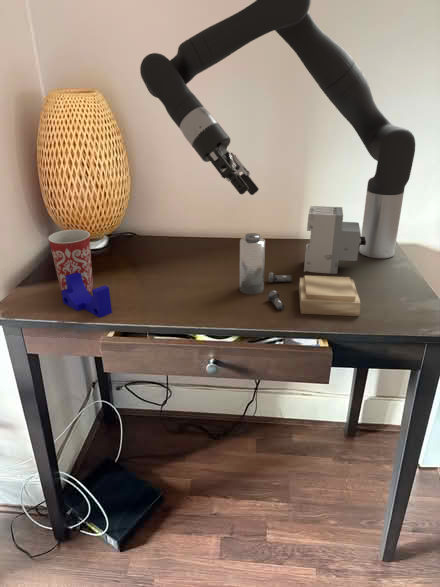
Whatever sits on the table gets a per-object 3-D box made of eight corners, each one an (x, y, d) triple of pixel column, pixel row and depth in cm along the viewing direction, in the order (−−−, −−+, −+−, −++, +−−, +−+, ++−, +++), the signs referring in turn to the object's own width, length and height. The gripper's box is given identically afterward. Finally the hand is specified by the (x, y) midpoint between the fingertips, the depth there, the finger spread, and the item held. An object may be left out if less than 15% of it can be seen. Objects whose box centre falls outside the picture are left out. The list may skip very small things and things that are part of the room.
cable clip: (63, 302, 105) (59, 278, 103) (81, 296, 108) (77, 272, 106) (93, 320, 98) (90, 294, 95) (112, 312, 101) (108, 287, 98)
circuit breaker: (362, 275, 117) (370, 216, 111) (303, 271, 120) (308, 213, 114) (360, 264, 124) (367, 208, 118) (305, 260, 127) (309, 205, 120)
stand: (298, 289, 111) (300, 273, 109) (351, 291, 109) (353, 275, 107) (300, 313, 100) (301, 296, 98) (359, 316, 98) (361, 298, 97)
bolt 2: (267, 300, 105) (267, 290, 104) (277, 299, 106) (278, 289, 105) (275, 311, 101) (275, 301, 100) (285, 309, 101) (286, 299, 100)
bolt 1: (270, 284, 113) (270, 275, 112) (268, 279, 115) (269, 270, 114) (291, 283, 114) (292, 274, 113) (289, 279, 116) (290, 270, 115)
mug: (96, 297, 108) (88, 240, 102) (55, 300, 106) (45, 243, 101) (99, 275, 119) (92, 223, 113) (61, 278, 118) (52, 225, 112)
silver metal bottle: (240, 283, 114) (241, 231, 108) (263, 284, 113) (265, 231, 107) (238, 293, 109) (239, 239, 103) (263, 294, 108) (264, 239, 102)
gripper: (205, 116, 95) (255, 179, 94) (227, 126, 108) (270, 181, 108) (179, 142, 98) (228, 203, 97) (203, 149, 111) (246, 203, 110)
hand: (250, 192), depth 102 cm, fingers open, 8 cm apart
